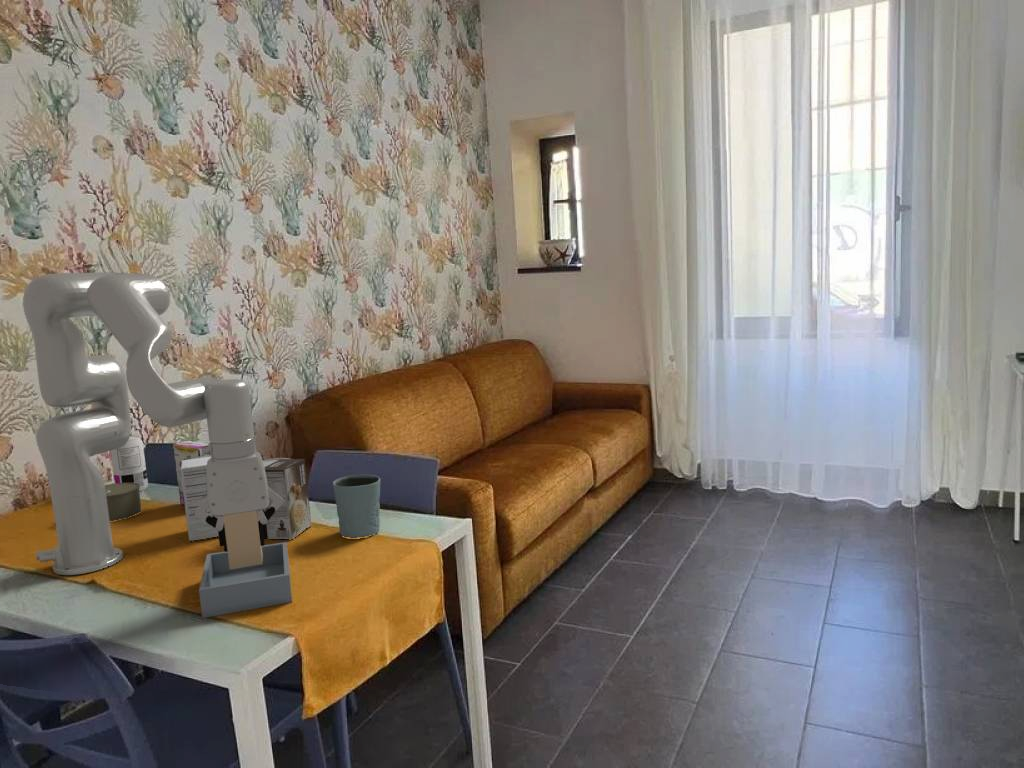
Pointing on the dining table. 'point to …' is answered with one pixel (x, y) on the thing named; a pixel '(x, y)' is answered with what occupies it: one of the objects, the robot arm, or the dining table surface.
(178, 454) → the candy bar box
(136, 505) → the can
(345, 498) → the teal cup
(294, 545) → the dining table surface
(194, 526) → the supplement box
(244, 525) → the carton
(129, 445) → the supplement can
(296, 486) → the coffee box
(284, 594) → the tote
